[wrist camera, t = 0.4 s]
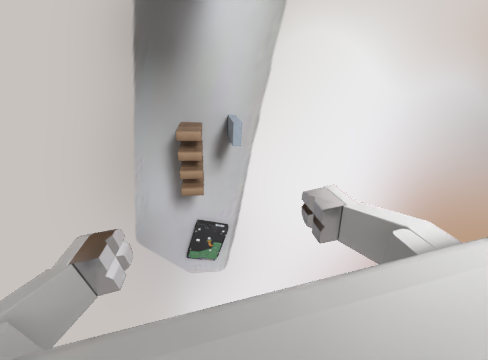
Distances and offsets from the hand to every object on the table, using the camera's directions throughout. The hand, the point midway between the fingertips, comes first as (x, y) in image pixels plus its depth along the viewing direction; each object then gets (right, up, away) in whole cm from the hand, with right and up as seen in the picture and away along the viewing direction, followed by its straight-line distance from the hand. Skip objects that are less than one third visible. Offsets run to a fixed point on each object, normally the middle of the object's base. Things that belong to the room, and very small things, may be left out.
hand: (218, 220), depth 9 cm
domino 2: (-12, +11, +42) cm, 45 cm away
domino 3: (-12, +7, +44) cm, 46 cm away
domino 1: (-12, +15, +40) cm, 44 cm away
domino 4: (-13, +3, +46) cm, 48 cm away
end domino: (-2, +16, +42) cm, 45 cm away
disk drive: (-11, -18, +58) cm, 62 cm away
